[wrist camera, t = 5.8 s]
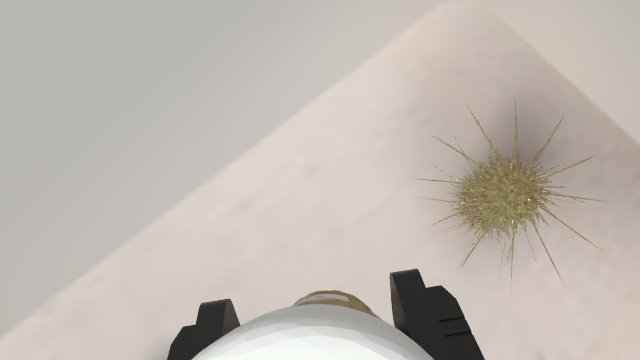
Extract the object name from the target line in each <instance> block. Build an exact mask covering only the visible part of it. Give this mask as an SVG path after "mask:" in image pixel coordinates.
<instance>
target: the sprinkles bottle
mask: <svg viewBox="0 0 640 360" xmlns="http://www.w3.org/2000/svg"><path fill="white" fill-rule="evenodd" d="M192 360H434V359H433V358H432V357H431V356H430V355H429V354H428V353H427V352H425V351H424V350H423V349H422V348H421V347H420V346H419V345H418V344H417V343H415V342H414V341H413V340H412V339H410V338H409V337H408V336H406V335H405V334H404V333H402V332H401V331H400V330H398V329H396V328H395V327H393V326H392V325H390V324H388V323H386V322H385V321H383V320H382V319H380V318H379V317H378V316H377V315H376V314H374V313H373V312H372V310H371V309H370V308H369V307H368V306H367V305H365V304H364V303H363V302H362V301H361V300H359V299H358V298H356V297H355V296H353V295H350V294H347V293H343V292H340V291H335V290H333V291H317V292H314V293H311V294H309V295H307V296H305V297H303V298H301V299H300V300H298V301H297V302H296V303H295V304H294V305H293V306H291V307H287V308H283V309H279V310H276V311H273V312H270V313H267V314H265V315H262V316H260V317H258V318H255V319H253V320H251V321H249V322H247V323H245V324H243V325H241V326H239V327H237V328H236V329H234V330H232V331H231V332H229V333H228V334H226V335H224V336H223V337H221V338H220V339H218V340H217V341H215V342H214V343H212V344H211V345H209V346H208V347H207V348H205V349H204V350H202V351H201V352H200V353H198V354H197V355H196V356H195V357H194V358H193V359H192Z"/></svg>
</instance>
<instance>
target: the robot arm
mask: <svg viewBox="0 0 640 360" xmlns="http://www.w3.org/2000/svg"><path fill="white" fill-rule="evenodd" d="M390 287H391V301H392V313H393V320H394V325H395V328H396V329H398V330H400V331H401V332H402V333H404V334H405V335H406V336H408V337H409V338H410V339H412V340H413V341H414V342H415V343H417V344H418V345H419V346H420V347H421V348H422V349H423V350H424V351H425V352H427V353H428V354H429V355H430V356H431V357H432V358H433V359H434V360H485V359H484V357H483V355H482V353H481V351H480V349H479V346H478V344H477V342H476V340H475V338H474V336H473V335H472V333H471V329H470V327H469V325H468V323H467V321H466V320H465V317H464V314H463V312H462V310H461V308H460V306H459V304H458V302H457V300H456V298H455V297H453V296H452V295H451V294H450V293H449V292H448V291H447V290H446V289H445V288H444V287H443V286H434V287H428V288H426V287H425V285H424V282H423V280H422V277H421V275H420V272H419V270H418V269H412V270H406V271H399V272H393V273H390ZM239 326H240V323H239V321H238V318H237V315H236V312H235V309H234V306H233V304H232V301H231V300H230V299H224V300H218V301H212V302H206V303H202V304H201V305H200V307H199V311H198V316H197V321H196V325H191V326H185V327H183V328H182V329H181V331H180V332H179V334H178V335H177V337H176V338H175V340H174V341H173V343H172V344H171V347H170V351H169V355H168V359H167V360H192V359H193V358H194V357H195V356H196V355H197V354H198V353H200V352H201V351H202V350H204V349H205V348H207V347H208V346H209V345H211V344H212V343H214V342H215V341H217V340H218V339H220V338H221V337H223V336H224V335H226V334H228V333H229V332H231V331H232V330H234V329H236V328H237V327H239Z"/></svg>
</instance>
